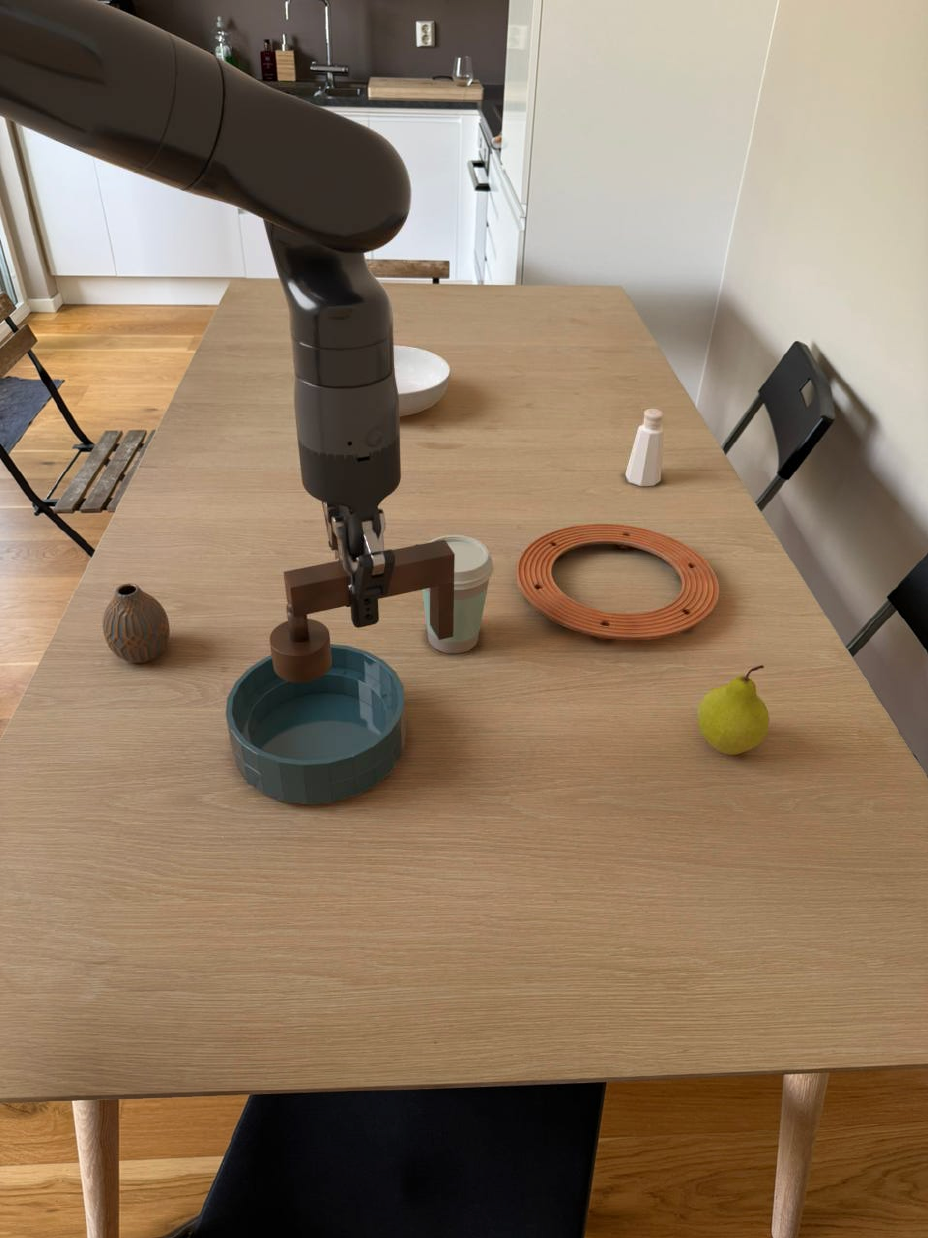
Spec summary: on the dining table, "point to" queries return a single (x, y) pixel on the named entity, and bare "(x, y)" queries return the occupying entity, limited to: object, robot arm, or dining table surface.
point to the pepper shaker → (647, 451)
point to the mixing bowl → (318, 728)
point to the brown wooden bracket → (325, 587)
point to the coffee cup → (464, 593)
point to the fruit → (734, 716)
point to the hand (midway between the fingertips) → (360, 612)
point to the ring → (561, 609)
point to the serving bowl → (419, 378)
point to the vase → (135, 625)
